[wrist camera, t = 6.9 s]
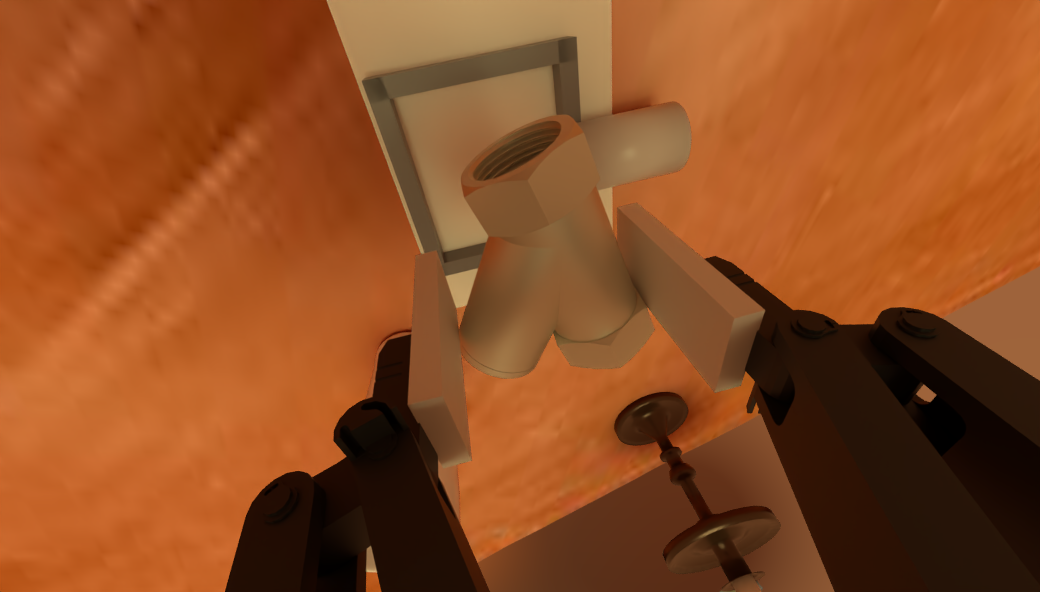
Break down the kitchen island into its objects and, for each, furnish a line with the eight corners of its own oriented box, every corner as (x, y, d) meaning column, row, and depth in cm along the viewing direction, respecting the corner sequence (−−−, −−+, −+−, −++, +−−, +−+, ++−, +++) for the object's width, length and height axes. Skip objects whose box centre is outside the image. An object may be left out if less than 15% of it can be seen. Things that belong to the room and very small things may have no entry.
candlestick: (651, 448, 50) (930, 971, 22) (590, 437, 45) (846, 1083, 18) (708, 396, 45) (1150, 977, 18) (646, 378, 41) (1115, 1130, 13)
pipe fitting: (490, 348, 17) (627, 286, 16) (497, 421, 14) (667, 351, 13) (374, 206, 12) (556, 103, 11) (346, 271, 9) (593, 137, 8)
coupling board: (322, -19, 17) (293, -32, 14) (662, -82, 19) (722, -110, 15) (449, 323, 31) (452, 365, 27) (641, 274, 32) (671, 308, 28)
